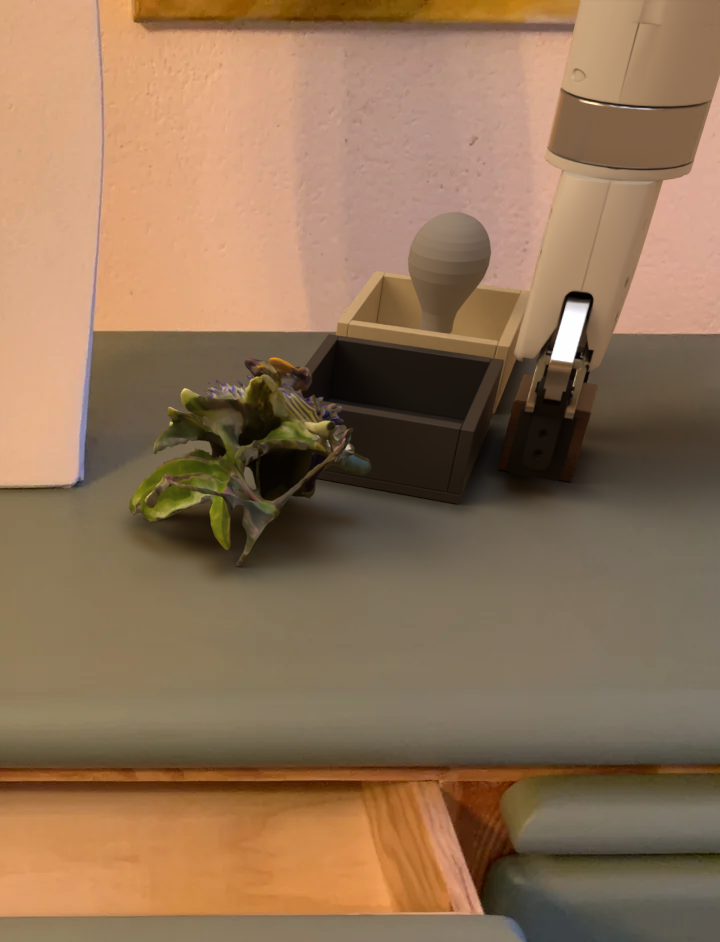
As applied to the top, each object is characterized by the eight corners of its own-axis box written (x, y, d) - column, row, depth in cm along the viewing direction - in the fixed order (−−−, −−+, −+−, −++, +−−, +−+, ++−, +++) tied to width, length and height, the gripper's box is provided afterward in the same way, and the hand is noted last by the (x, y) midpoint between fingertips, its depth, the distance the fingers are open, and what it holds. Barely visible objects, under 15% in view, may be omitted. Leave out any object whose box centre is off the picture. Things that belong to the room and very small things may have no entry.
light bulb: (385, 370, 83) (409, 220, 76) (399, 343, 86) (423, 198, 80) (462, 381, 81) (493, 229, 75) (473, 353, 85) (503, 206, 78)
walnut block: (578, 452, 74) (598, 384, 71) (571, 482, 71) (591, 412, 68) (507, 441, 75) (524, 373, 72) (497, 469, 72) (513, 400, 69)
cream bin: (518, 354, 87) (533, 291, 83) (494, 414, 79) (510, 346, 75) (366, 332, 90) (375, 270, 87) (328, 387, 82) (337, 321, 79)
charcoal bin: (489, 428, 77) (504, 359, 74) (458, 504, 69) (474, 431, 66) (320, 400, 80) (328, 333, 77) (272, 470, 72) (279, 399, 69)
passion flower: (258, 581, 73) (392, 429, 67) (250, 650, 63) (405, 481, 57) (116, 468, 70) (243, 300, 64) (86, 523, 61) (231, 333, 55)
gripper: (569, 95, 68) (502, 385, 80) (530, 164, 56) (458, 494, 68) (704, 106, 66) (615, 402, 78) (694, 180, 54) (590, 518, 66)
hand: (542, 444), depth 72 cm, fingers open, 8 cm apart
